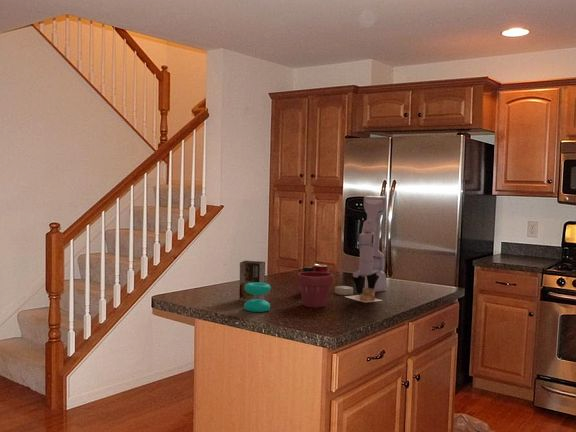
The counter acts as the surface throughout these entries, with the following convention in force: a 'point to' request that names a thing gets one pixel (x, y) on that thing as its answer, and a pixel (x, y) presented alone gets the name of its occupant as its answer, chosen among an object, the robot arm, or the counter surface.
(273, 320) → the counter surface
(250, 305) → the donuts
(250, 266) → the coffee box
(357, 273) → the robot arm
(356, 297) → the letter
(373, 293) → the maple block
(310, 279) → the plant pot
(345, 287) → the puck
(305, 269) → the supplement bottle
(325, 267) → the soda can
